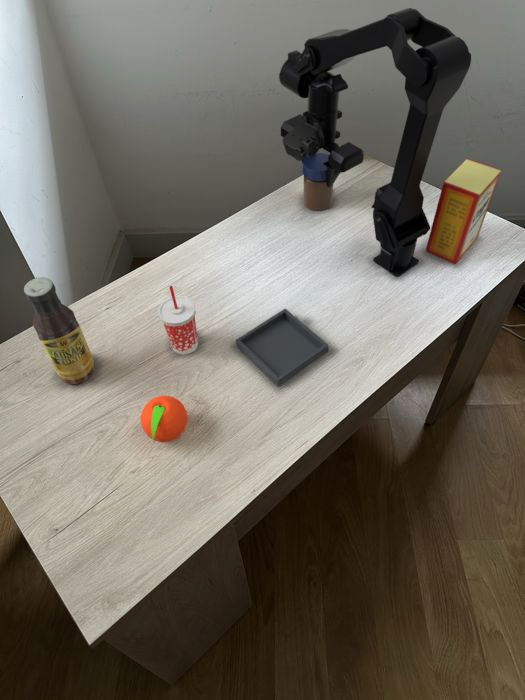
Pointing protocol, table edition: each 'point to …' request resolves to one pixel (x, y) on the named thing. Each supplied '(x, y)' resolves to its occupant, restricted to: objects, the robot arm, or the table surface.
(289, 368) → the tray
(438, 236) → the baking soda box
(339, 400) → the table surface
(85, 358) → the sauce bottle
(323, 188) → the jar
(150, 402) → the clementine
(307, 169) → the lid
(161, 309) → the beverage cup
